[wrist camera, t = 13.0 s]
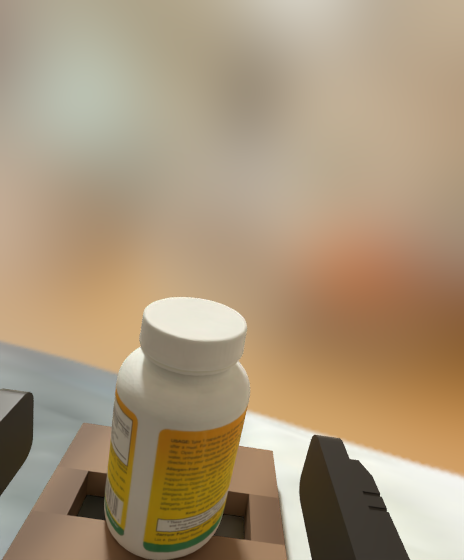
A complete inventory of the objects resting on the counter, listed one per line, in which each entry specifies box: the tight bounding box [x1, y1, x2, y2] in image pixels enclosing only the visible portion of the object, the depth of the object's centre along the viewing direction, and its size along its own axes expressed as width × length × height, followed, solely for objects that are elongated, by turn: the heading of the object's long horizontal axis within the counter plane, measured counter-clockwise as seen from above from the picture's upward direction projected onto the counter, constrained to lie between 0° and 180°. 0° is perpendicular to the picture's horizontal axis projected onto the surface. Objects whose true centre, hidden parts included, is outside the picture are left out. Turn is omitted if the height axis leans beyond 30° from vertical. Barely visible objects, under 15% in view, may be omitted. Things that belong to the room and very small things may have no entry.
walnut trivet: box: [2, 423, 287, 560], centre depth 17 cm, size 11×9×2 cm
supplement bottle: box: [104, 297, 250, 560], centre depth 16 cm, size 5×5×10 cm
